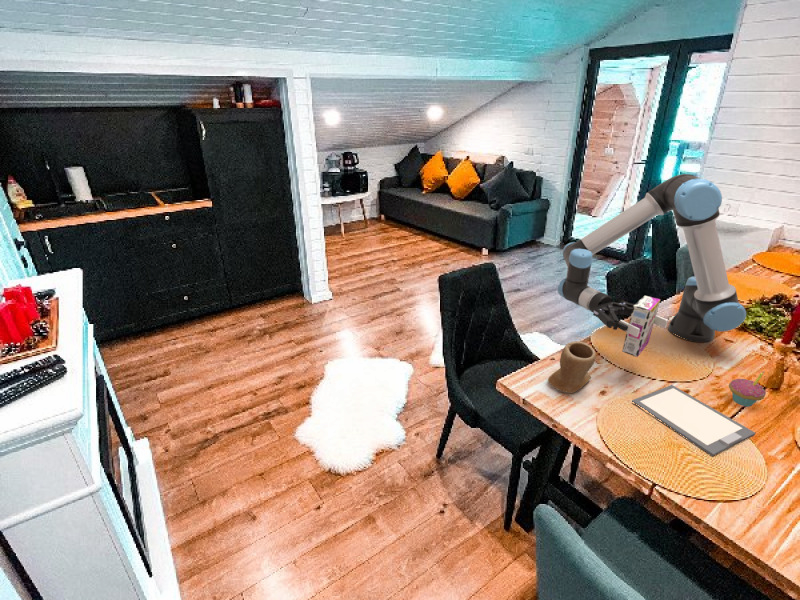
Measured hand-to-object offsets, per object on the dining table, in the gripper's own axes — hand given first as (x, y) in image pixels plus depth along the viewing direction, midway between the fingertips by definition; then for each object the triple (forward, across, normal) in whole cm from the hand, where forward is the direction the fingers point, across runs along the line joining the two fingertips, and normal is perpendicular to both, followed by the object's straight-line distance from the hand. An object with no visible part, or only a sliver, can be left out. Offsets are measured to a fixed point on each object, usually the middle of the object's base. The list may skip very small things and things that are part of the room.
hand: (652, 328), depth 128 cm
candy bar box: (-4, 0, -9) cm, 10 cm away
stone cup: (-9, +20, -20) cm, 30 cm away
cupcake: (+20, -19, -20) cm, 34 cm away
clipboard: (+18, +2, -20) cm, 27 cm away
